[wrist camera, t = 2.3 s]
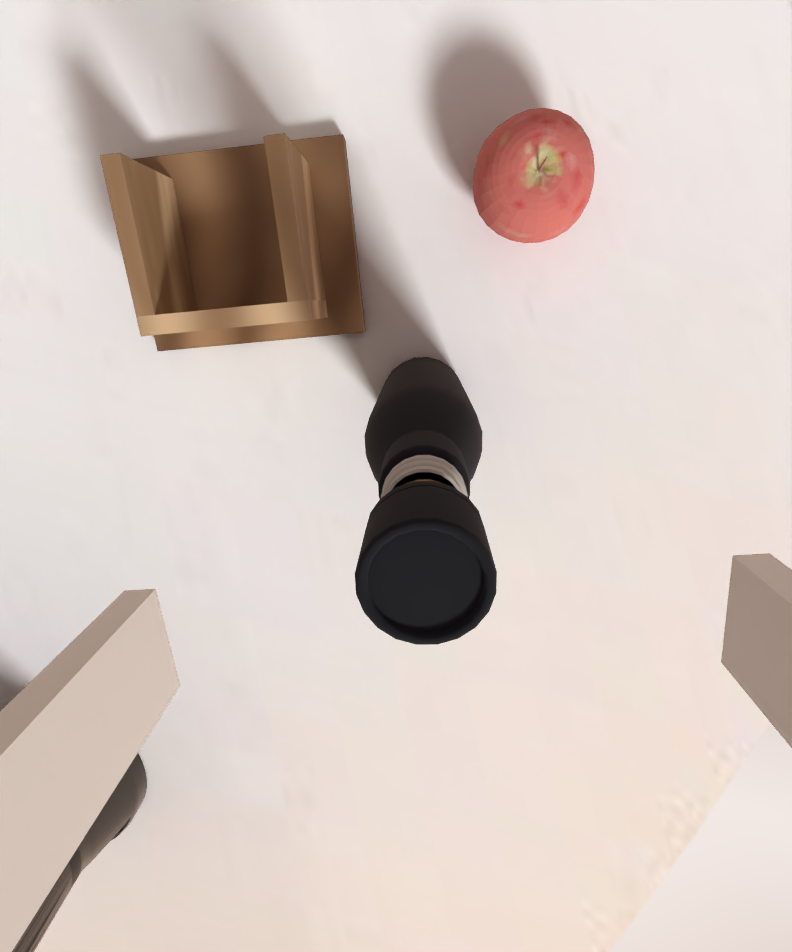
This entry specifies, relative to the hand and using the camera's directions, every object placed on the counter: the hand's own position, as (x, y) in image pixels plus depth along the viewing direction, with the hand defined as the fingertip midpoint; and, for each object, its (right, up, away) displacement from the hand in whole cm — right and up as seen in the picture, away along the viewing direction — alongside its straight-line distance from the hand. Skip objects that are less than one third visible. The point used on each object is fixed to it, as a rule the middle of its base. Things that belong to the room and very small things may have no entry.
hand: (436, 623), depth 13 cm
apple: (+8, +24, +26) cm, 36 cm away
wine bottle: (+1, +10, +31) cm, 32 cm away
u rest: (-12, +20, +28) cm, 36 cm away
